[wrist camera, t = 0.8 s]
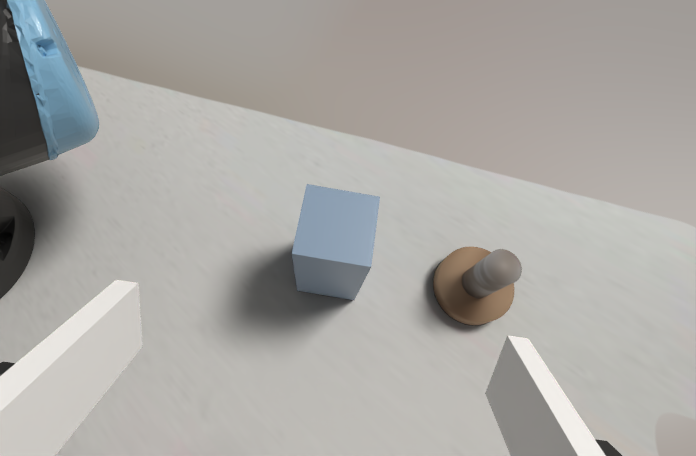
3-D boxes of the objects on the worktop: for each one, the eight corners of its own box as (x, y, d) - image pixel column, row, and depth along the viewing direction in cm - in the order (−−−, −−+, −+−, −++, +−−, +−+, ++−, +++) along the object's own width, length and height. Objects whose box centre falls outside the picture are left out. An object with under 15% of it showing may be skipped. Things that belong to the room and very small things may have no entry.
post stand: (419, 292, 40) (443, 271, 32) (457, 239, 43) (488, 209, 35) (482, 341, 38) (522, 331, 31) (517, 282, 41) (562, 260, 34)
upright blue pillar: (297, 290, 39) (291, 253, 28) (307, 237, 41) (306, 184, 30) (354, 300, 39) (371, 267, 28) (361, 246, 41) (380, 196, 30)
